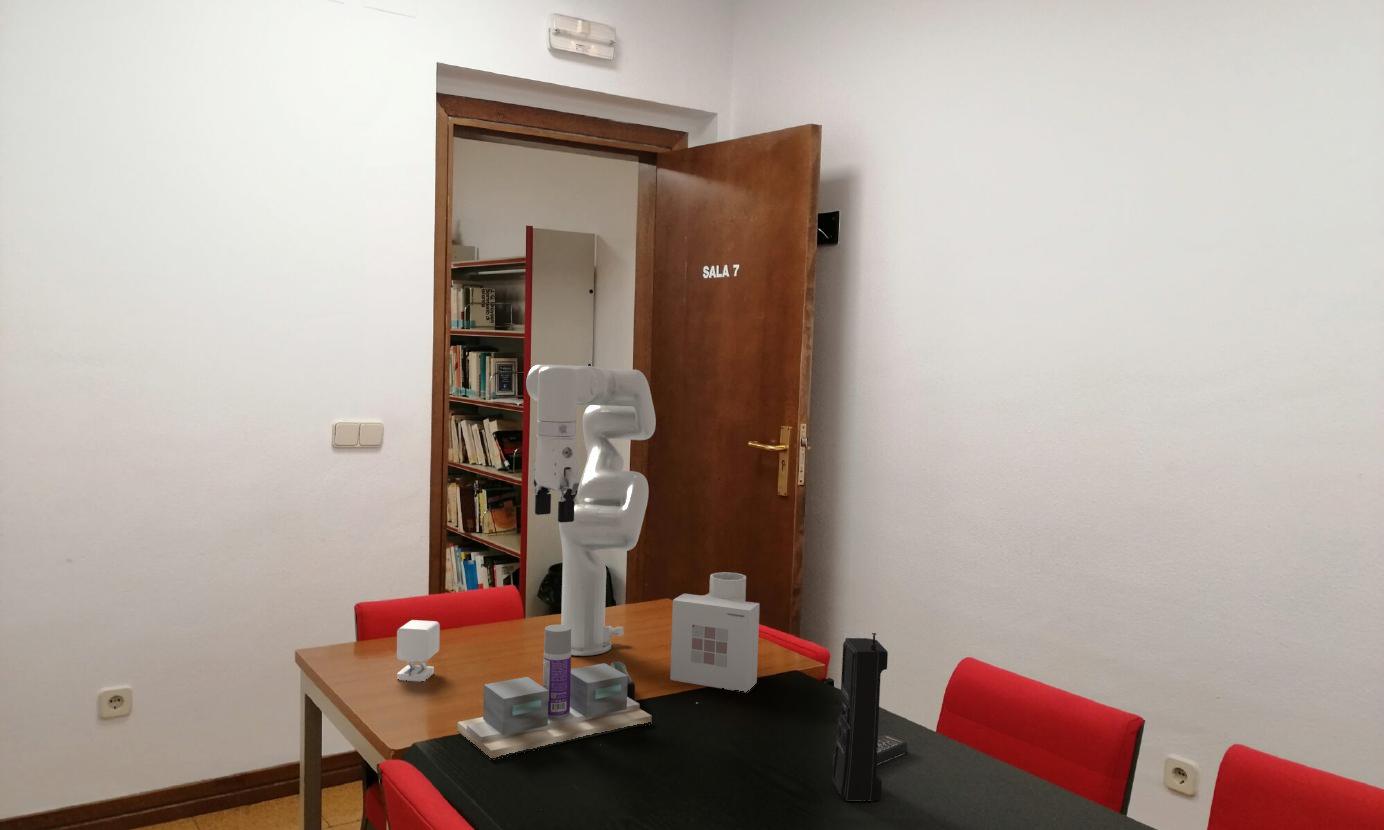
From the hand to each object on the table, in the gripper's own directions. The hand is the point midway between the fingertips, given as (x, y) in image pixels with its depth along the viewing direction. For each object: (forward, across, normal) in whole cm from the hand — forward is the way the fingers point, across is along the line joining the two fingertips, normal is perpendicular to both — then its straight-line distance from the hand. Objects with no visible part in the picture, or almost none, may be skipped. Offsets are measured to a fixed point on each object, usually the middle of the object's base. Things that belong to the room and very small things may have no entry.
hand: (554, 517), depth 190 cm
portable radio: (+32, -67, -17) cm, 76 cm away
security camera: (+32, +16, +21) cm, 42 cm away
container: (+30, -22, +10) cm, 39 cm away
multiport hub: (+33, -60, -28) cm, 74 cm away
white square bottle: (+33, -13, -33) cm, 48 cm away
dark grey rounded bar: (+33, -13, -8) cm, 36 cm away
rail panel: (+32, -22, +10) cm, 40 cm away
